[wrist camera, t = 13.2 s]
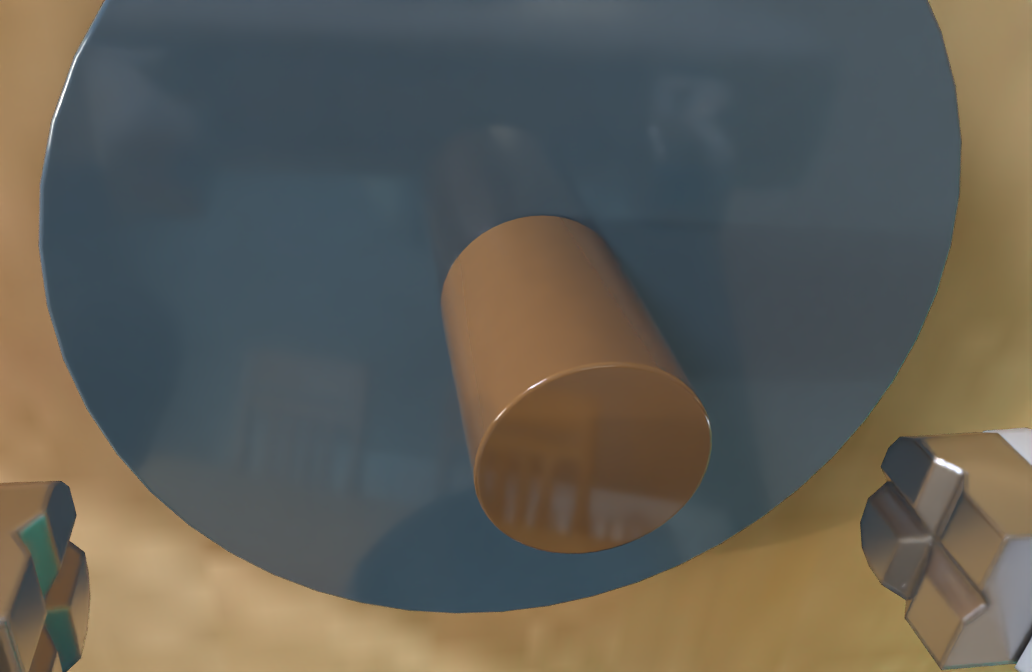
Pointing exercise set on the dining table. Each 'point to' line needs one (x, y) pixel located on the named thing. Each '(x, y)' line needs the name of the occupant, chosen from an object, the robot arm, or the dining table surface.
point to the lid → (492, 272)
